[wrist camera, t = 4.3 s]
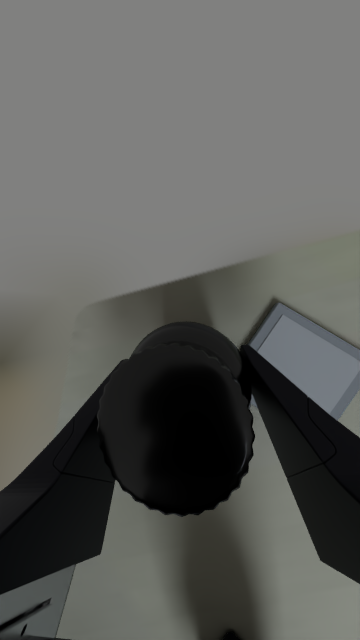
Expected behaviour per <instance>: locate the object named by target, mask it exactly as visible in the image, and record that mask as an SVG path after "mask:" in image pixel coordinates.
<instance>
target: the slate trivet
mask: <svg viewBox="0 0 360 640" xmlns="http://www.w3.org/2000/svg"><path fill="white" fill-rule="evenodd" d="M248 345H250V346H251V347H252V348H253V349H255V350H256V351H257V352H258V353H259V354H260V355H261V356H263V357H264V358H265V359H266V360H267V361H268V362H269V363H271V364H272V365H273V366H274V367H275V368H276V369H278V370H279V371H280V372H281V373H282V374H283V375H284V376H286V377H287V378H288V379H289V380H290V381H291V382H292V383H294V384H295V385H296V386H297V387H298V388H299V389H300V390H302V391H303V392H304V393H305V394H306V395H307V396H308V397H310V398H311V399H312V400H313V401H314V402H315V403H317V404H318V405H319V406H320V407H321V408H323V409H324V410H325V411H326V412H327V413H328V414H330V415H331V416H332V417H333V418H335V419H336V420H337V421H338V419H339V418H340V417H341V415H342V414H343V412H344V411H345V409H346V408H347V406H348V405H349V404H350V402H351V401H352V399H353V398H354V396H355V395H356V394H357V392H358V391H359V389H360V350H359V349H357V348H355V347H354V346H352V345H350V344H349V343H347V342H345V341H344V340H342V339H340V338H339V337H337V336H335V335H333V334H332V333H330V332H328V331H327V330H325V329H323V328H322V327H320V326H318V325H317V324H315V323H313V322H312V321H310V320H308V319H307V318H305V317H303V316H301V315H300V314H298V313H296V312H295V311H293V310H291V309H290V308H288V307H286V306H285V305H283V304H281V303H280V302H279V303H276V304H275V305H274V307H273V308H272V310H271V311H270V313H269V314H268V315H267V317H266V318H265V320H264V321H263V323H262V324H261V326H260V327H259V329H258V330H257V331H256V333H255V334H254V336H253V337H252V339H251V340H250V342H249V343H248ZM251 404H252V405H254V406H255V407H257V405H256V402H255V400H254V397H253V395H252V399H251ZM257 408H258V407H257Z"/></svg>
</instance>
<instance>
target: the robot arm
mask: <svg viewBox="0 0 360 640" xmlns="http://www.w3.org/2000/svg"><path fill="white" fill-rule="evenodd" d="M240 353H241V355H242V357H243V358H244V360H245V363H246V365H247V368H248V370H249V374H250V379H251V386H252V395H253V397H254V400H255V402H256V405H257V407H258V410H259V412H260V414H261V417H262V419H263V422H264V424H265V427H266V429H267V432H268V434H269V436H270V439H271V441H272V444H273V446H274V449H275V451H276V453H277V456H278V458H279V461H280V463H281V466H282V468H283V471H284V473H285V475H286V477H287V480H288V483H289V485H290V488H291V490H292V493H293V495H294V498H295V500H296V502H297V505H298V507H299V510H300V512H301V515H302V517H303V520H304V522H305V524H306V527H307V529H308V532H309V534H310V537H311V539H312V541H313V544H314V546H315V549H316V551H317V554H318V556H319V558H320V560H321V561H322V562H323V563H325V564H327V565H329V566H330V567H332V568H334V569H335V570H337V571H339V572H340V573H342V574H344V575H345V576H347V577H349V578H351V579H352V580H354V581H356V582H357V583H359V584H360V438H359V437H358V436H357V435H355V434H354V433H353V432H351V431H350V430H349V429H347V428H346V427H345V426H344V425H342V424H341V423H340V422H338V421H337V420H336V419H335V418H333V417H332V416H331V415H330V414H328V413H327V412H326V411H325V410H324V409H323V408H321V407H320V406H319V405H318V404H317V403H315V402H314V401H313V400H312V399H311V398H310V397H308V396H307V395H306V394H305V393H304V392H303V391H302V390H300V389H299V388H298V387H297V386H296V385H295V384H294V383H292V382H291V381H290V380H289V379H288V378H287V377H286V376H284V375H283V374H282V373H281V372H280V371H279V370H278V369H276V368H275V367H274V366H273V365H272V364H271V363H269V362H268V361H267V360H266V359H265V358H264V357H263V356H261V355H260V354H259V353H258V352H257V351H256V350H255V349H253V348H252V347H251V346H250V345H248V344H246V345H241V348H240ZM126 360H128V359H125V360H122V361H120V363H119V364H118V365H117V366H116V367H115V369H114V370H113V371H112V372H111V373H110V374H109V376H108V377H107V378H106V379H105V380H104V381H103V383H102V384H101V385H100V386H99V387H98V388H97V390H96V391H95V392H94V393H93V394H92V395H91V397H90V398H89V399H88V400H87V401H86V402H85V404H84V405H83V406H82V407H81V408H80V409H79V411H78V412H77V413H76V414H75V416H74V417H73V418H72V419H71V420H70V421H69V422H68V423H67V425H66V426H65V427H64V428H63V429H62V430H61V431H60V433H59V434H58V435H57V436H56V437H55V438H54V439H53V440H52V441H51V442H50V443H49V445H47V447H46V448H45V449H44V450H43V451H42V452H41V453H40V454H39V455H38V456H37V457H36V458H35V459H34V460H33V461H32V462H31V463H30V464H29V465H28V466H27V467H26V469H24V471H23V472H22V473H21V474H20V475H19V476H18V477H17V478H16V479H15V480H14V481H12V482H11V483H10V484H9V485H8V486H7V487H5V488H4V489H3V490H2V491H0V640H70V639H60V638H56V635H57V631H58V627H59V624H60V620H61V617H62V613H63V610H64V606H65V602H66V599H67V595H68V592H69V588H70V585H71V581H72V577H73V574H74V570H75V567H76V564H78V563H80V562H83V561H85V560H87V559H90V558H92V557H95V556H97V555H100V554H101V550H102V546H103V541H104V536H105V530H106V525H107V520H108V515H109V510H110V505H111V500H112V495H113V489H114V484H115V483H114V482H115V479H114V478H113V477H112V474H111V471H110V468H109V467H108V466H107V465H106V463H105V462H104V454H103V452H102V451H101V449H100V447H99V442H100V438H99V435H98V433H97V427H98V419H97V414H98V411H99V409H100V404H99V400H100V399H101V397H102V396H103V394H104V386H105V385H106V384H107V383H108V382H109V381H110V378H111V375H112V373H113V372H115V371H116V370H118V369H119V366H120V364H121V363H122V362H123V361H126ZM223 640H240V639H239V638H238V637H237V636H236V635H235V634H234V633H232V632H228V633H227V634H226V636H225V637H224V638H223Z"/></svg>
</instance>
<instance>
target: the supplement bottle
mask: <svg viewBox="0 0 360 640" xmlns="http://www.w3.org/2000/svg"><path fill="white" fill-rule="evenodd" d="M251 399H252V386H251V379H250V374H249V370H248V368H247V365H246V363H245V360H244V358H243V357H242V355H241V353H240V352H239V350H238V349H237V348H236V346H235V345H234V344H233V343H232V342H231V341H230V340H229V339H228V338H227V337H226V336H224V335H223V334H222V333H220V332H219V331H217V330H215V329H213V328H211V327H209V326H206V325H204V324H200V323H195V322H175V323H170V324H167V325H164V326H162V327H159V328H157V329H156V330H154V331H152V332H151V333H150V334H148V335H147V336H146V337H145V338H144V339H143V340H142V341H141V342H140V343H139V344H138V346H137V347H136V348H135V350H134V351H133V353H132V355H131V357H130V358H129V359H128V360H126V361H123V362H122V363H121V364H120V366H119V369H118V370H116V371H115V372H113V373H112V375H111V378H110V381H109V382H108V383H107V384H106V385H105V386H104V394H103V396H102V397H101V399H100V400H99V404H100V409H99V411H98V414H97V419H98V427H97V433H98V435H99V438H100V442H99V447H100V449H101V451H102V452H103V454H104V462H105V463H106V465H107V466H108V467H109V468H110V471H111V474H112V477H113V478H114V479H115V480H117V481H118V482H119V484H120V486H121V488H122V490H123V491H125V492H127V493H129V494H130V495H131V496H132V498H133V499H134V500H135V501H136V502H140V503H143V504H144V505H145V506H146V507H147V508H149V509H150V510H158V511H160V512H161V513H163V514H165V515H170V514H176V515H178V516H180V517H183V516H186V515H188V514H194V515H199V514H201V513H202V512H203V511H205V510H214V509H215V508H216V507H217V505H218V504H219V503H220V502H224V501H227V500H228V499H229V497H230V495H231V493H232V492H233V491H234V490H237V489H238V488H239V487H240V484H241V480H242V478H243V477H244V476H245V475H246V474H247V473H248V469H249V461H250V460H251V459H252V457H253V448H252V444H253V442H254V439H255V434H254V431H253V428H252V425H253V415H252V413H251V412H250V410H249V409H250V405H251Z"/></svg>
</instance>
